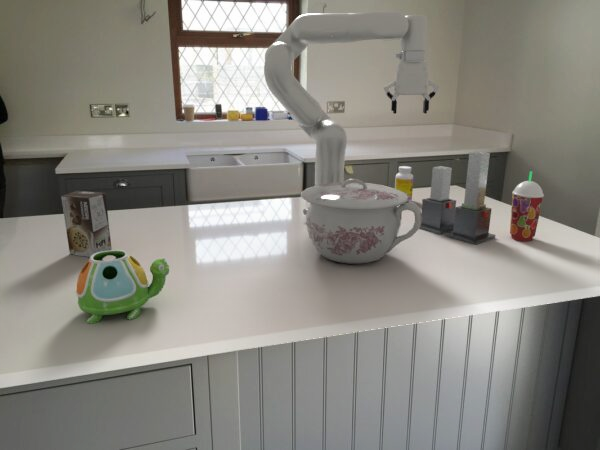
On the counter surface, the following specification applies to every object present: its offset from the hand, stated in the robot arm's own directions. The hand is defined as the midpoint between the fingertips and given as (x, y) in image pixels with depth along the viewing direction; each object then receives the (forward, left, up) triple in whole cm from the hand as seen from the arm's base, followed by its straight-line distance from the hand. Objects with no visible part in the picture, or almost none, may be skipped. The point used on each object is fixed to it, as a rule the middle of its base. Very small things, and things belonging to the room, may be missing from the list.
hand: (409, 113), depth 162 cm
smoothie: (+8, -39, -34) cm, 52 cm away
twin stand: (-3, -29, -34) cm, 45 cm away
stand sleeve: (-3, -17, -34) cm, 38 cm away
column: (-3, -17, -33) cm, 37 cm away
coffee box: (-96, +25, -34) cm, 105 cm away
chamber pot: (-42, -19, -34) cm, 58 cm away
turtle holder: (-101, -13, -34) cm, 108 cm away
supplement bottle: (+16, +13, -34) cm, 40 cm away
